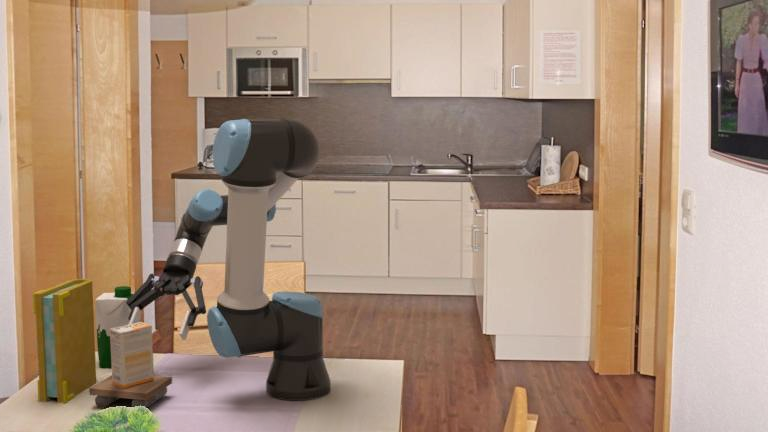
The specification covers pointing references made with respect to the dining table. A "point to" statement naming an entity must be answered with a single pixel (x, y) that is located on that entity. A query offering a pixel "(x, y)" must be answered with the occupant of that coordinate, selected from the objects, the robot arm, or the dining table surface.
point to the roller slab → (130, 391)
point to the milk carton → (110, 320)
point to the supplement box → (131, 354)
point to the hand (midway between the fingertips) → (155, 335)
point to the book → (65, 339)
